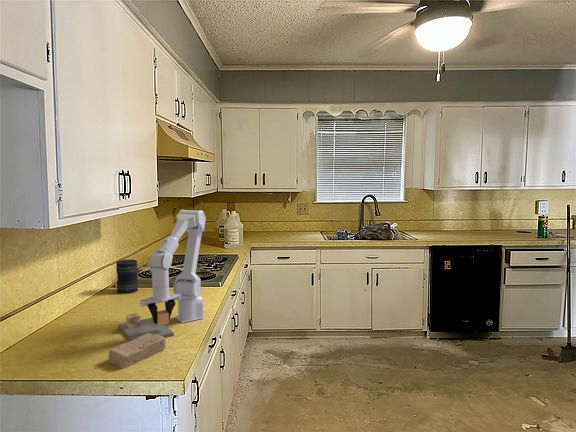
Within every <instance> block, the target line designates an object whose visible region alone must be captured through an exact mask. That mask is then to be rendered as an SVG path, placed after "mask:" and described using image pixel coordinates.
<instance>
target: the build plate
mask: <svg viewBox="0 0 576 432" xmlns="http://www.w3.org/2000/svg"><path fill="white" fill-rule="evenodd" d="M118 328H119V329H120V330H121V331H122V332H123V333H124V335H125V336H126V338H128V339H129V342H130V341H132V340H135V339H137V338H138V337H140V336H143V335H145V334H148V333H150V334H155V335H160V336H163V337H164V338H165V339H166V338H170V337H174V335H175V334H174V333H175V332H173V331H172V330H171V329H170V328H169V327H168V326H167V324H164V325H160V326H158V325H157V324H155V323H154V322H153V318H152V317H147V318H143V319H142V318H141V319H140V326H139V327H135V328H130V329H129V328H128V326H127V325H126V322H123V323H119V324H118Z"/></svg>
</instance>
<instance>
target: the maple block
mask: <svg viewBox="0 0 576 432" xmlns="http://www.w3.org/2000/svg"><path fill="white" fill-rule="evenodd" d="M125 316H126V317H125V318H126V322H125V323H126V325H127V326H128V328H129V329H130V328H135V327H139V326H140V320H141V315H140V314H138V312H134V313H129V314H126V315H125Z"/></svg>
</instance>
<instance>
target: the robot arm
mask: <svg viewBox="0 0 576 432" xmlns="http://www.w3.org/2000/svg"><path fill="white" fill-rule="evenodd" d="M206 219H207V218H206V215H205V212H204V210H193V209H192V210H190V209H189V210H188V209H180V210H179V211H178V213H177V214H176V224H175V226H174V228H173V230H172V231H171V233H170V235H169V236H166V237H165V238H164V239H163V240H162V242H161V243H160V245H159V247H158V249H156V251H154V252H152V253H151V254H150V255H149V256H148V261H147V265H148V267H149V270H150V271H149V272H150V274H151V286H152V296H151V297H148V298H147V297H146V298H143V299H139V305H140V307H145V306H146V307H147V308H148V310H149V313H150V314H151V318H153V322H154V323H155V324H157V311H158V306H157V304H160V303H164V306H165V307H164V308H165V310H166V311H167V312H168V313H169V322H170V320H171V317H172V316H171V315H172V312H173V310H174V308H175V306H176V300H177V315H175V316H174V319H176V320H177V321H178V322H180V323H181V324H184V323H188V322H192V321H193V322H194V321H197V320H203V319H204V301H203V298H202V296H201V294H200V293H201V291H202V286H201V278H200V277H199V276H198V275H197V274H196V271H197V265H198V261H199V260H198V259H199V254H200V253H199V252H200V247H201V241H202V234H203V232H204V231H205V226H206ZM185 232H186V233H188V235H187V243H186V246H185V252H184V253H185V255H184V260H183V265H182V272H181V273H179V274H178V275H177V276H176V277H175V281H174V283H173V285H172V286H173V287H172V291H173V293H170V280H169V279H170V276H169V275H170V274H169V268H170V267H171V266H172V262H173V259H174V256H173V255H174V254H175V252H176V251H177V249H178V248H179V247H180V245H179V240H180V239H181V237H182V236H183V234H185Z"/></svg>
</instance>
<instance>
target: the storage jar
mask: <svg viewBox="0 0 576 432" xmlns="http://www.w3.org/2000/svg"><path fill="white" fill-rule="evenodd" d="M115 264H116V266H115V267H116V268H115V269H116V276H117V280H116V289H117V290H116V292H117V294H121V295H129V294H134V293H137V292H138V291H139V289H138V288H139V280H138V279H139V278H138V260H137V259H122V260H118V261H116V263H115Z"/></svg>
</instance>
